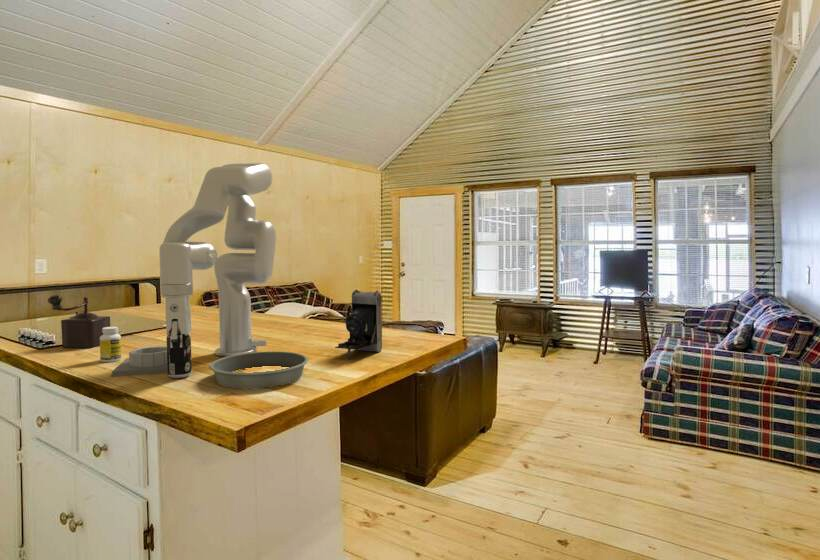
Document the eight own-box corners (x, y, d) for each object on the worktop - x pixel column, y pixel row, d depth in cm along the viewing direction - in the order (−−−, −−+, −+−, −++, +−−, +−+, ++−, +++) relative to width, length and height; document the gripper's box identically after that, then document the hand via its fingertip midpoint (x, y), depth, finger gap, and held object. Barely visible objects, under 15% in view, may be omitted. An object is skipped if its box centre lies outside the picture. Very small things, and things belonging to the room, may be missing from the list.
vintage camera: (332, 359, 151) (331, 295, 148) (356, 348, 165) (356, 288, 163) (361, 363, 147) (360, 297, 145) (383, 351, 161) (383, 290, 159)
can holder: (186, 358, 150) (186, 343, 150) (179, 371, 135) (178, 354, 134) (126, 362, 145) (126, 346, 145) (112, 376, 130) (111, 358, 130)
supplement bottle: (111, 362, 144) (110, 329, 144) (96, 362, 145) (94, 328, 145) (126, 358, 150) (124, 326, 149) (110, 357, 151) (109, 325, 150)
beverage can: (192, 373, 133) (191, 328, 133) (191, 377, 128) (189, 331, 127) (168, 375, 131) (167, 329, 131) (166, 379, 126) (165, 332, 125)
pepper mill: (82, 341, 175) (80, 291, 174) (112, 342, 174) (110, 291, 173) (46, 351, 160) (43, 295, 158) (79, 352, 159) (76, 296, 157)
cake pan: (295, 362, 146) (295, 347, 146) (320, 383, 124) (319, 365, 124) (205, 372, 135) (204, 356, 135) (215, 397, 113) (214, 378, 113)
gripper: (188, 293, 121) (190, 367, 122) (196, 287, 137) (198, 353, 138) (154, 293, 118) (156, 369, 120) (166, 288, 134) (168, 354, 136)
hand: (178, 360), depth 129 cm, fingers closed on beverage can, 4 cm apart
